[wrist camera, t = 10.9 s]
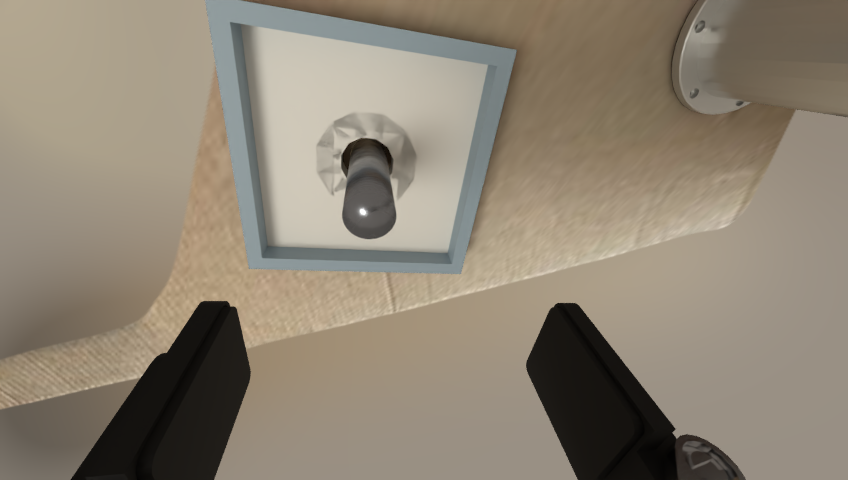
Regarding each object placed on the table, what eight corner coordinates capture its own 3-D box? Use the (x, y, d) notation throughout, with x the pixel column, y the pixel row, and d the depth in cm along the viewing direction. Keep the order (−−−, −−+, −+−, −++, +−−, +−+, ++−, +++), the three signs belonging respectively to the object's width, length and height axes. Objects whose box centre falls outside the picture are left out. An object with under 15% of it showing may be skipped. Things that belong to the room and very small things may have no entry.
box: (497, 49, 26) (516, 49, 23) (452, 252, 36) (460, 274, 33) (228, 1, 22) (204, -7, 19) (261, 245, 32) (249, 268, 29)
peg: (387, 140, 29) (398, 193, 19) (384, 174, 30) (393, 240, 20) (351, 136, 28) (342, 189, 18) (350, 171, 30) (341, 238, 20)
